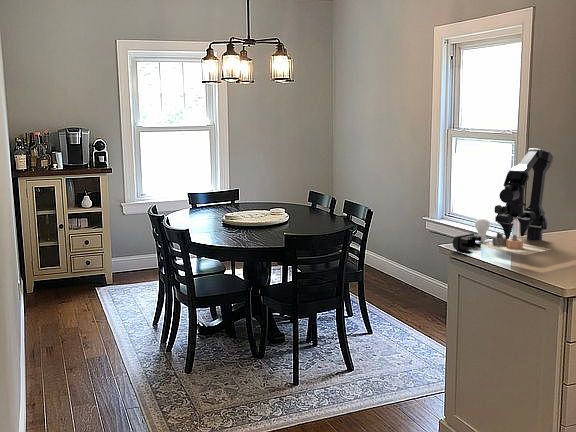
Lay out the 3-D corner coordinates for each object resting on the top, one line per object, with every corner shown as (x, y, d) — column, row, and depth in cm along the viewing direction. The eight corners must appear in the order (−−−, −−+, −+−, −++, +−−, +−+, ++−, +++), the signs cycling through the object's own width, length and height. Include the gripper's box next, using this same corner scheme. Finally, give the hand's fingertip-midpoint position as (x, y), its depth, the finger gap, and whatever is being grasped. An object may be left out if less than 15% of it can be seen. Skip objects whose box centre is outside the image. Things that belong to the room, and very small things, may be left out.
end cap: (467, 247, 272) (468, 232, 271) (481, 250, 266) (482, 234, 265) (451, 251, 266) (452, 235, 265) (465, 254, 260) (466, 238, 259)
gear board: (502, 242, 280) (503, 227, 279) (551, 252, 260) (552, 236, 259) (476, 247, 271) (476, 232, 270) (524, 258, 251) (525, 241, 250)
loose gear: (512, 244, 269) (513, 237, 269) (526, 247, 264) (526, 240, 264) (502, 246, 266) (503, 239, 265) (516, 249, 261) (516, 242, 260)
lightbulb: (473, 243, 280) (474, 218, 278) (474, 240, 285) (475, 216, 284) (488, 244, 278) (489, 219, 276) (489, 241, 283) (490, 216, 281)
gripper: (514, 195, 273) (512, 231, 276) (485, 199, 263) (483, 237, 266) (537, 198, 264) (535, 236, 267) (507, 203, 254) (506, 241, 257)
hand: (514, 237), depth 264 cm, fingers open, 9 cm apart
